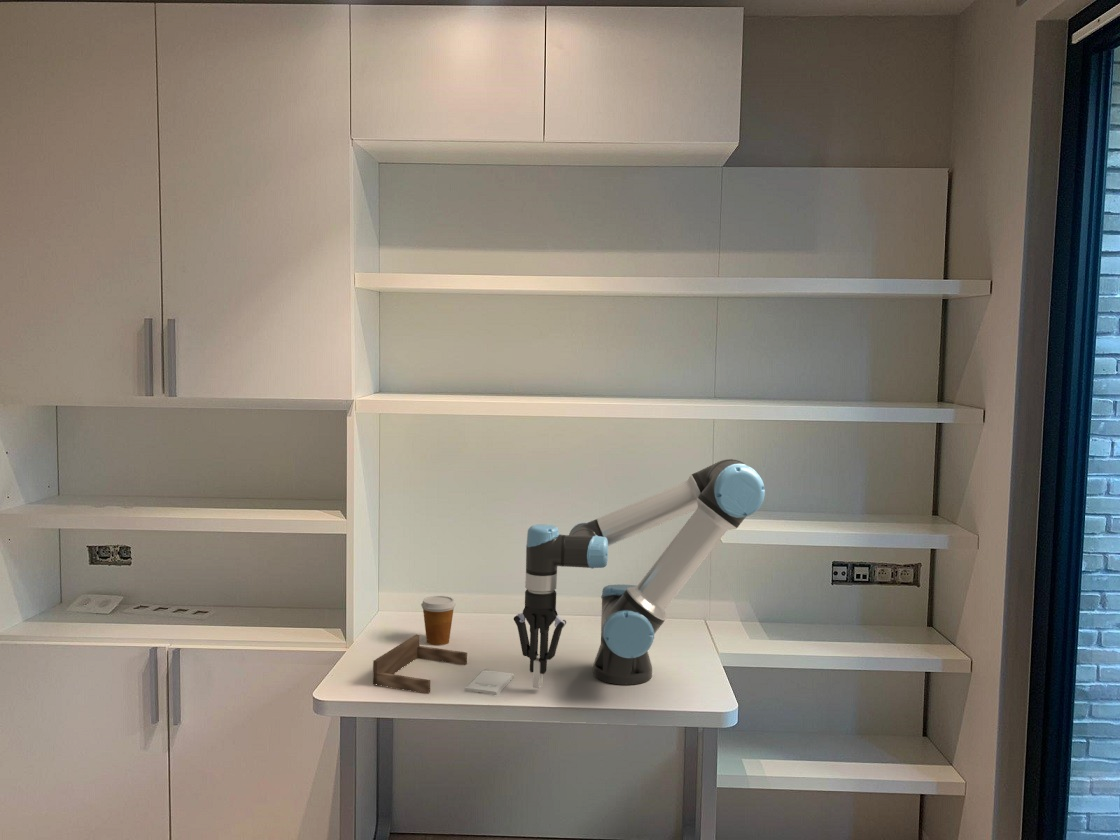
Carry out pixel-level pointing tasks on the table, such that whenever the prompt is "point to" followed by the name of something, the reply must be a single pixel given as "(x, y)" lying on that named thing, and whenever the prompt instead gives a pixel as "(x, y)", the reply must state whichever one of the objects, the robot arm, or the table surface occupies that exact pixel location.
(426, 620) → the disposable coffee cup
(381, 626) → the table surface
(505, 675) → the external hard drive
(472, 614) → the table surface
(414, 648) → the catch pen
